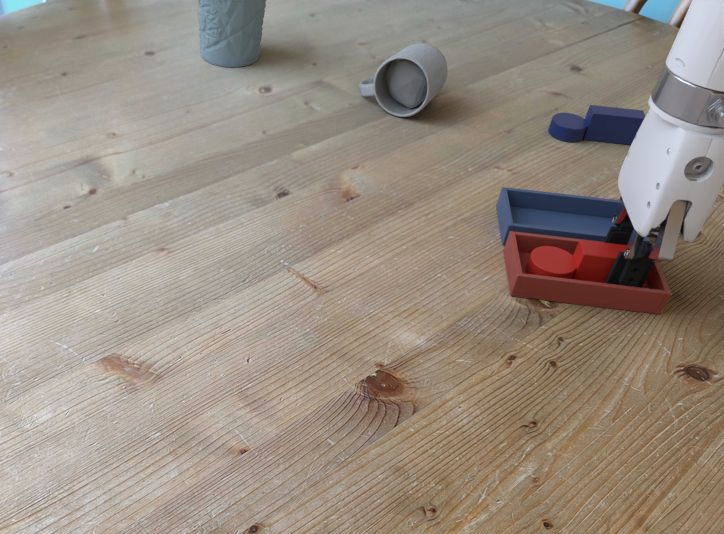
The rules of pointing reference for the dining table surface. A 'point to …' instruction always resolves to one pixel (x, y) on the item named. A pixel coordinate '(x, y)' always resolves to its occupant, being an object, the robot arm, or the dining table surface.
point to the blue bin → (555, 214)
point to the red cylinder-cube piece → (575, 261)
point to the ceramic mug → (407, 80)
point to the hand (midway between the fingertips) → (617, 274)
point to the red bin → (578, 291)
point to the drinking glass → (230, 31)
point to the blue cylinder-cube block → (598, 125)
